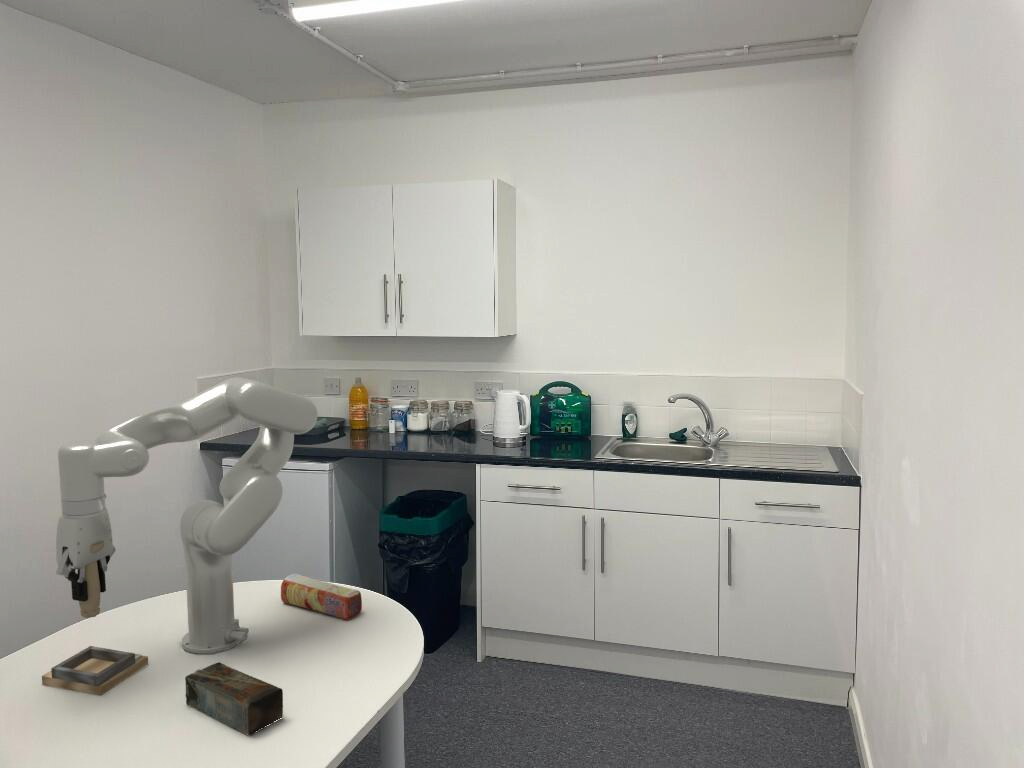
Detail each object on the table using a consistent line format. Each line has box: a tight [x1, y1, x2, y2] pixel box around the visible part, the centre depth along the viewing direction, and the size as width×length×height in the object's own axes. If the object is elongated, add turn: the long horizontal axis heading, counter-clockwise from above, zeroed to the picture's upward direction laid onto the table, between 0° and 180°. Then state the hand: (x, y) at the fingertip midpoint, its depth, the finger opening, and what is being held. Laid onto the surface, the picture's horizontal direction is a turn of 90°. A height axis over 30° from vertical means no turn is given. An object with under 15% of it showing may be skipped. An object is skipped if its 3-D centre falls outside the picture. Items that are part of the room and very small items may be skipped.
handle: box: [78, 541, 104, 619], centre depth 162 cm, size 5×6×15 cm
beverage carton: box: [184, 661, 284, 736], centre depth 153 cm, size 8×19×7 cm, turn 55°
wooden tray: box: [41, 645, 149, 696], centre depth 166 cm, size 14×13×4 cm
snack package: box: [280, 573, 363, 621], centre depth 199 cm, size 21×7×7 cm, turn 61°
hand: (89, 594), depth 162 cm, fingers closed on handle, 3 cm apart
